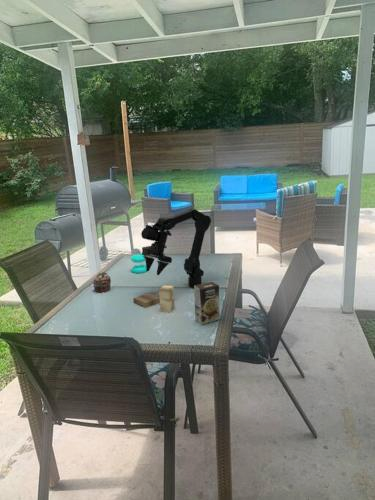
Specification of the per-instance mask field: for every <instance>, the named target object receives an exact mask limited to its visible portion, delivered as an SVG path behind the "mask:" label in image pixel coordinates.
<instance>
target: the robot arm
mask: <svg viewBox="0 0 375 500" xmlns="http://www.w3.org/2000/svg"><path fill="white" fill-rule="evenodd" d="M187 220H193V221H194V227H195V234H194V236H193V237H194V238H193V241H192V245H191V246H192V247H191V250H190V255H189V257H188V258H185V259H184V263H183V269H184V271H185V273H186V275H188V278H187V285H188V286H189V287H190V288H191V289H192V288H193V289H194V285H199V284H203V283H202V277H203V276H204V273H205V271H204V270H202V269H201V261H200V255H201V250H202V246H203V242H204V239H205V235H206V234H205V233H207V231H208V229H209V228H210V226H211V223H212V219H211V216H209V215H207V214H206V215H205V214H204V213H202V212H200V211H198V210H197V208H196V209H194V208H190V209H188V210H185V211H183V212H179V213H177V214H174V215H171V216H163V217H160V218H158V219H157V221H156V222H155V223H154V224H153V225H148V224H146V225H145V227H144V228H143V229H142V230H141V234H140V236H141V238H142V239H144V240H148V241H152V243H151V245H147V246H142V247H141V250H142V252H141V254H142V255H144V256H143V257H144V258H145V260H146V261H145V266H146V272H149V271H150V269H151V268H152V266H153V263H154V261H155V259H157V260H156V262H157V270H156V276H160V275H161V273H162V272H163V271H164V270H165V268H167V266H168V265H170V264H171V263H172V262H173V258H172V257H171V256H168V255H165V254H164V252H165V249H167V247H168V246H166V244H167V241H168V237H169V236H170V237H171V236H172V235H173V234H172V233H171V232H170V230H172V229H173V228H175V226H176V225H178V224H180V223H182V222H186V221H187Z"/></svg>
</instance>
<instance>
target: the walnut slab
mask: <svg viewBox="0 0 375 500" xmlns="http://www.w3.org/2000/svg"><path fill="white" fill-rule="evenodd" d="M132 299H133V304H135V305H137V306H139V307H142V308H144V309H147V308H149V307H150V308H151V307H153V306H156V305H157V304H160V298H159V295H157V294H154V293H152V292H148V293H144V294H141V295H139V296H135V297H133V298H132Z"/></svg>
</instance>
